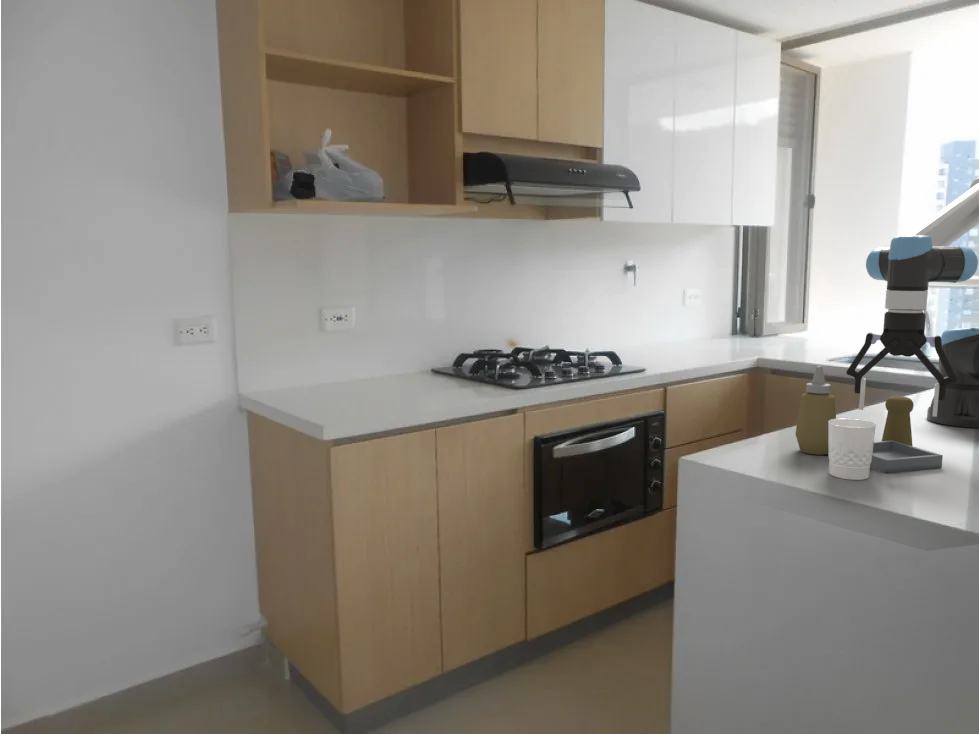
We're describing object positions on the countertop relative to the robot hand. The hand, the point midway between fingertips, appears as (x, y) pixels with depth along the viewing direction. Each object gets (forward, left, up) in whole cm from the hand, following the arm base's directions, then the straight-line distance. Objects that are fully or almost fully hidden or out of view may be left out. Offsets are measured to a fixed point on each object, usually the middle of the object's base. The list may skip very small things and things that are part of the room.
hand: (897, 412), depth 158 cm
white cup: (+23, +14, -8) cm, 28 cm away
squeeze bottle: (+18, -2, -8) cm, 20 cm away
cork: (0, 0, -8) cm, 8 cm away
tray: (+10, +9, -8) cm, 15 cm away
